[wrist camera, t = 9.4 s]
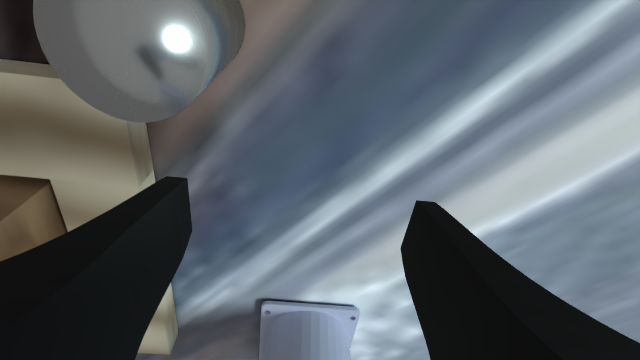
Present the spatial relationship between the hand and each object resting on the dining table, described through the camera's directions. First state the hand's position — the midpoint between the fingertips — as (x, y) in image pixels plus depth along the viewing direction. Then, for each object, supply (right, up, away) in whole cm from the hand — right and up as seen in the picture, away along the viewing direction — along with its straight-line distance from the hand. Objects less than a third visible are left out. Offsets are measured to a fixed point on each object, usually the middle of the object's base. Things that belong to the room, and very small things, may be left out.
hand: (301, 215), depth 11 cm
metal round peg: (-6, +9, +6) cm, 12 cm away
